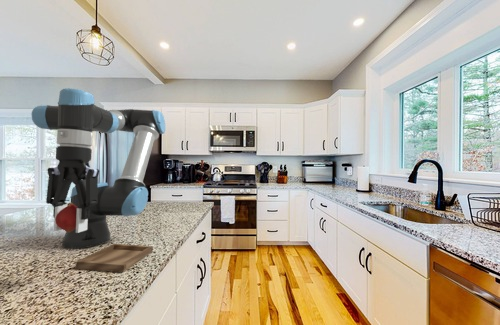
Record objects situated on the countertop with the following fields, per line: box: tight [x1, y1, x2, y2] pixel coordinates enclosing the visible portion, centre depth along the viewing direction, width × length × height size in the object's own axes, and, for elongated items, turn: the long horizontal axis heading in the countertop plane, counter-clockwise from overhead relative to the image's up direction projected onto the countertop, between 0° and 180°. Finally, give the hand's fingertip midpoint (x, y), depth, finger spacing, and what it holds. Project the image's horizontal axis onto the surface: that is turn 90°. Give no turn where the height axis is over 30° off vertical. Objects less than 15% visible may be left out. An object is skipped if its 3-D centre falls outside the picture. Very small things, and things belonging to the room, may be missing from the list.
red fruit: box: [55, 202, 78, 233], centre depth 57 cm, size 6×6×8 cm
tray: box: [75, 243, 154, 273], centre depth 68 cm, size 15×15×2 cm
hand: (70, 230), depth 57 cm, fingers closed on red fruit, 6 cm apart
